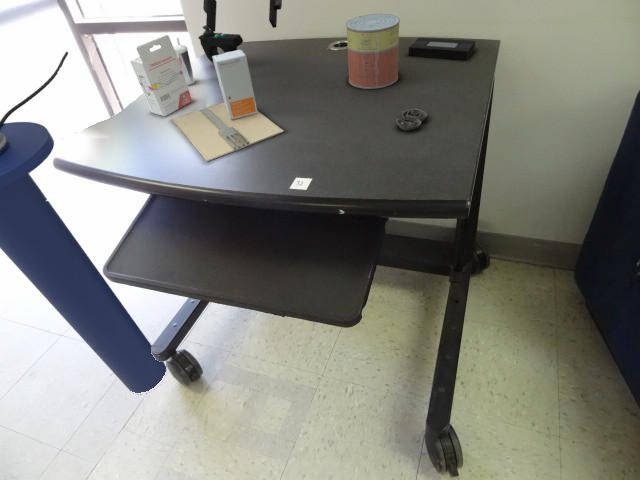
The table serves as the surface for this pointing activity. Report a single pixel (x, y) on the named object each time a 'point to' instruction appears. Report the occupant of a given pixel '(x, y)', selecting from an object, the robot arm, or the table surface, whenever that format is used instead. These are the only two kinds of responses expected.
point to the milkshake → (184, 62)
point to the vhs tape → (442, 48)
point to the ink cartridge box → (161, 77)
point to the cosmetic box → (235, 84)
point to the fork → (225, 130)
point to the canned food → (373, 50)
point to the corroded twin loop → (411, 119)
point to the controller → (218, 42)
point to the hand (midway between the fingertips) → (241, 26)
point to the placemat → (207, 135)
